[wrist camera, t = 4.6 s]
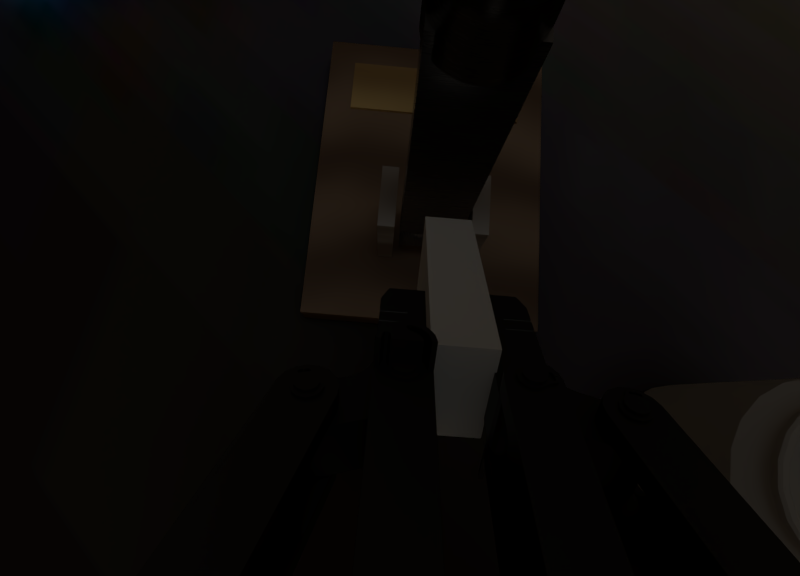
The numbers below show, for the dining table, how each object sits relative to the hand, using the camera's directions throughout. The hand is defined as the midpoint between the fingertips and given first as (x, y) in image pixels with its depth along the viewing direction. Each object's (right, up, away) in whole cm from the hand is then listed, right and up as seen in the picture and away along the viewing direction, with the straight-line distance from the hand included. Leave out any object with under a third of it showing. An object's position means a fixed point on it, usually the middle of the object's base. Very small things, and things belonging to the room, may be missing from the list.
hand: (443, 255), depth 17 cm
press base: (0, +5, +14) cm, 15 cm away
